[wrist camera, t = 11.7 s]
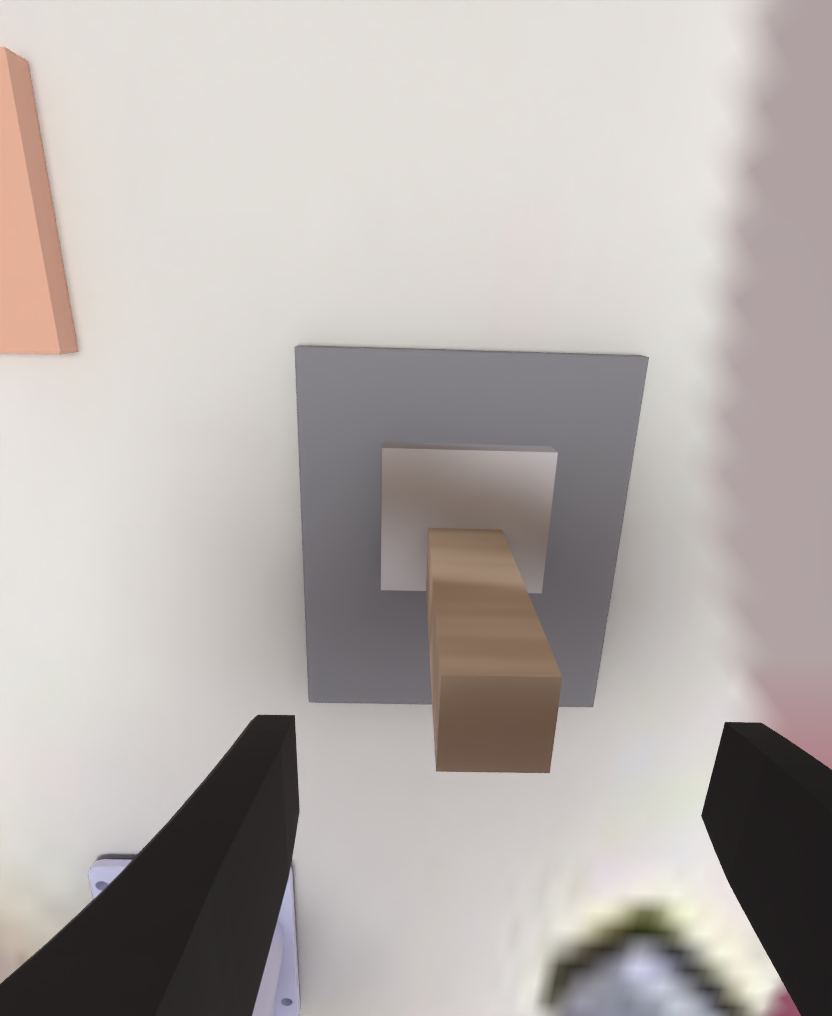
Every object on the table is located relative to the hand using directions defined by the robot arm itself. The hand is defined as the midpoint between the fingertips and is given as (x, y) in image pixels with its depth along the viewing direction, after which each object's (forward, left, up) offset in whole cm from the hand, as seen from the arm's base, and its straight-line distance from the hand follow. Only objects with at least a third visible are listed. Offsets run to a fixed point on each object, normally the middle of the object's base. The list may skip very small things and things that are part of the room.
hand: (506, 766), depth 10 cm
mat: (0, 0, -10) cm, 10 cm away
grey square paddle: (+1, 0, -9) cm, 9 cm away
